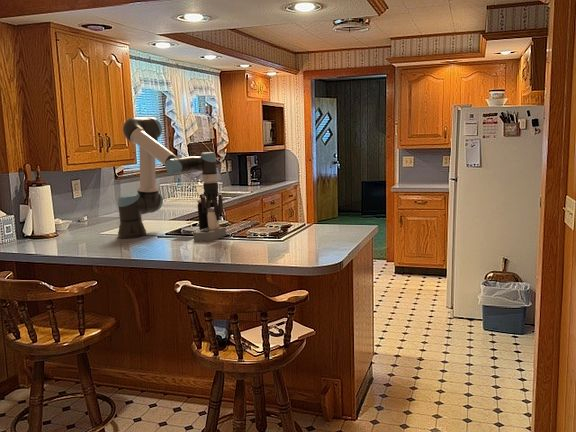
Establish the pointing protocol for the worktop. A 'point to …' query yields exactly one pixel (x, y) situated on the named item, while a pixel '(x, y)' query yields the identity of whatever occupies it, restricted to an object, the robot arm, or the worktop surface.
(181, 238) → the deck mat
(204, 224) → the coffee jar
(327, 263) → the worktop surface
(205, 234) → the socket box
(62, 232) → the worktop surface
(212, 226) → the plug
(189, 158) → the robot arm
